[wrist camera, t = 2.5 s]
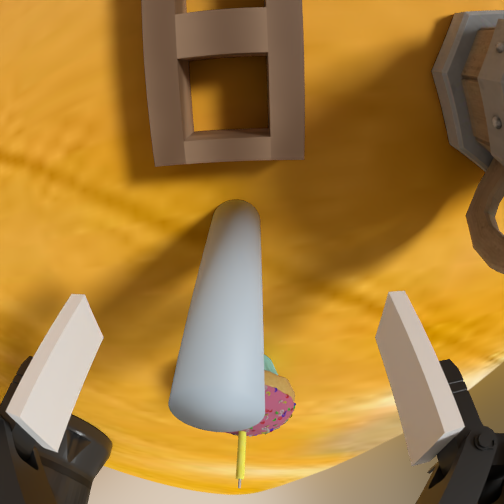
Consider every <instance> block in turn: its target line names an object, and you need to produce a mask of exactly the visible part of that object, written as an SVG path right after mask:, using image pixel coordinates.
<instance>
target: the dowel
mask: <svg viewBox="0 0 504 504" xmlns="http://www.w3.org/2000/svg"><path fill="white" fill-rule="evenodd" d="M169 408H170V410H171V412H172V413H173V415H174V416H175V417H177V418H178V419H179V420H181V421H182V422H184V423H186V424H188V425H190V426H193V427H196V428H199V429H203V430H207V431H214V432H235V431H241V430H245V429H248V428H251V427H253V426H255V425H257V424H258V423H259V422H260V421H262V419H263V418H264V415H265V382H264V338H263V299H262V263H261V230H260V216H259V214H258V212H257V210H256V209H255V207H254V206H252V205H251V204H250V203H248V202H246V201H243V200H229V201H226V202H224V203H222V204H221V205H220V206H219V207H218V208H217V209H216V210H215V212H214V215H213V218H212V222H211V226H210V229H209V233H208V237H207V241H206V244H205V248H204V252H203V256H202V260H201V264H200V268H199V272H198V276H197V280H196V284H195V288H194V292H193V296H192V300H191V304H190V308H189V312H188V316H187V321H186V325H185V329H184V334H183V338H182V342H181V347H180V351H179V356H178V360H177V365H176V370H175V374H174V379H173V384H172V388H171V393H170V398H169Z"/></svg>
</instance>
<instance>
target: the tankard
mask: <svg viewBox="0 0 504 504" xmlns="http://www.w3.org/2000/svg"><path fill="white" fill-rule="evenodd" d="M431 72H432V75H433V78H434V82H435V85H436V89H437V92H438V96H439V100H440V104H441V108H442V112H443V116H444V120H445V125H446V129H447V134H448V139H449V144H450V145H452V146H453V147H454V148H456V149H457V150H458V151H460V152H461V153H462V154H464V155H465V156H466V157H467V158H469V159H470V160H471V161H473V162H474V163H475V164H476V165H478V166H479V167H480V168H481V169H482V170H484V171H485V174H484V176H483V178H482V179H481V181H480V183H479V184H478V186H477V189H476V192H475V194H474V197H473V199H472V201H471V204H470V206H469V209H468V211H467V213H466V219H467V223H468V227H469V231H470V235H471V239H472V244H473V248H474V249H475V250H476V251H477V253H478V254H479V255H480V256H481V257H482V259H483V260H484V261H485V262H486V263H487V265H488V266H489V267H490V268H492V269H494V270H495V271H497V272H500V273H503V274H504V235H503V234H502V233H501V232H500V231H499V228H498V225H497V222H496V219H495V215H496V212H497V209H498V206H499V203H500V201H501V200H502V198H503V197H504V10H495V11H470V12H461V13H455V14H454V16H453V19H452V22H451V24H450V27H449V29H448V32H447V35H446V37H445V40H444V42H443V45H442V47H441V50H440V52H439V54H438V57H437V59H436V62H435V64H434V66H433V69H432V71H431Z"/></svg>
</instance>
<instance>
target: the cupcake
mask: <svg viewBox="0 0 504 504" xmlns="http://www.w3.org/2000/svg"><path fill="white" fill-rule="evenodd" d="M264 382H265V415H264V418H263V419H262V421H260V422H259V423H258V424H257V425H255V426H253V427H251V428H248V429H245V430H241V431H235V432H226V433H231V434H233V435H237V436H238V452H237V469H236V479H239V481H238V488H240V487H241V479H244V470H245V450H246V436H250V437H251V436H254V435H258V434H267V433H269V432H272V431H273V430H276V429H278V427H279V428H280V426H281V425H283V424H284V423H286V422H287V421H288V418H289V417H290V416H291V417H292V412H293V411H294V408H295V405H296V403H294V400H295V393H294V391H293V389H292V387H291V385H290V383H289V381H288V380H287V379H286V378H284V377H281V376H278V374H277V372H276V370H275V368H274V365H273V363H272V361H271V359H270V358H269V357H268V356H266V355H264ZM291 417H290V418H291Z"/></svg>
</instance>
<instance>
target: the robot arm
mask: <svg viewBox="0 0 504 504" xmlns="http://www.w3.org/2000/svg"><path fill="white" fill-rule="evenodd" d="M103 338H104V337H103V335H102V333H101V331H100V329H99V326H98V324H97V322H96V320H95V317H94V315H93V313H92V311H91V308H90V306H89V303H88V301H87V299H86V296H85V295H83V294H71V296H70V297H69V299H68V300H67V302H66V304H65V305H64V307H63V308H62V310H61V311H60V313H59V315H58V316H57V318H56V319H55V321H54V323H53V324H52V326H51V328H50V329H49V331H48V333H47V334H46V336H45V338H44V339H43V341H42V343H41V345H40V346H39V348H38V350H37V352H36V353H35V355H34V357H32V356H29V357H28V358H27V359H26V360H25V361H24V362H23V363H22V364H21V366H20V368H19V370H18V372H17V373H16V374H17V375H15V377H14V379H13V383H11V385H10V387H9V389H8V391H7V393H6V395H5V397H4V399H3V401H2V403H1V405H0V504H88V499H89V495H90V490H91V486H92V482H93V479H94V478H95V476H96V475H97V474H98V472H99V471H100V469H101V468H102V467H103V465H104V464H105V462H106V461H107V459H108V458H109V456H110V453H111V450H112V442H111V441H110V440H109V438H108V437H107V436H106V435H104V434H103V433H102V432H101V431H99V430H98V429H96V428H95V427H93V426H92V425H90V424H88V423H87V422H85V421H83V420H81V419H79V418H77V417H75V416H73V415H71V414H72V411H73V408H74V406H75V403H76V401H77V398H78V396H79V393H80V391H81V388H82V386H83V383H84V381H85V379H86V376H87V374H88V372H89V369H90V367H91V365H92V362H93V360H94V358H95V355H96V353H97V351H98V349H99V346H100V344H101V342H102V340H103ZM375 338H376V341H377V344H378V347H379V351H380V354H381V357H382V360H383V363H384V366H385V369H386V372H387V376H388V379H389V382H390V386H391V389H392V392H393V396H394V399H395V403H396V406H397V410H398V413H399V417H400V421H401V424H402V428H403V432H404V435H405V440H406V444H407V448H408V452H409V455H410V460H411V464H412V466H414V465H418V464H422V463H426V462H429V461H431V460H432V459H433V458H434V457H435V456H436V455H437V458H438V461H439V462H437V463H436V464H435V465H434V466H433V467H432V468H431V469H430V470H429V471H428V473H431V472H432V471H433V473H432V474H431V476H430V478H429V480H428V482H427V484H426V486H425V488H424V490H423V492H422V493H421V495H420V497H419V499H418V500H417V502H416V504H504V433H494V432H493V430H492V429H490V428H488V427H486V426H483V424H482V423H481V421H480V419H479V416H478V413H477V411H476V408H475V406H474V403H473V401H472V398H471V396H470V394H469V392H468V391H467V387H466V384H465V382H463V378H462V375H461V373H460V371H459V369H458V368H457V367H456V366H455V364H454V363H453V362H452V361H451V360H450V359H448V360H443V361H438V358H437V356H436V354H435V352H434V350H433V347H432V345H431V343H430V341H429V339H428V337H427V335H426V332H425V330H424V328H423V326H422V324H421V322H420V320H419V318H418V316H417V314H416V312H415V310H414V308H413V306H412V304H411V302H410V300H409V298H408V296H407V295H406V293H405V291H396V292H388V296H387V300H386V303H385V307H384V310H383V314H382V317H381V320H380V324H379V327H378V330H377V333H376V337H375Z"/></svg>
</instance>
